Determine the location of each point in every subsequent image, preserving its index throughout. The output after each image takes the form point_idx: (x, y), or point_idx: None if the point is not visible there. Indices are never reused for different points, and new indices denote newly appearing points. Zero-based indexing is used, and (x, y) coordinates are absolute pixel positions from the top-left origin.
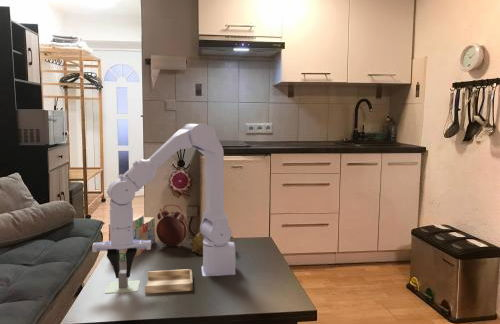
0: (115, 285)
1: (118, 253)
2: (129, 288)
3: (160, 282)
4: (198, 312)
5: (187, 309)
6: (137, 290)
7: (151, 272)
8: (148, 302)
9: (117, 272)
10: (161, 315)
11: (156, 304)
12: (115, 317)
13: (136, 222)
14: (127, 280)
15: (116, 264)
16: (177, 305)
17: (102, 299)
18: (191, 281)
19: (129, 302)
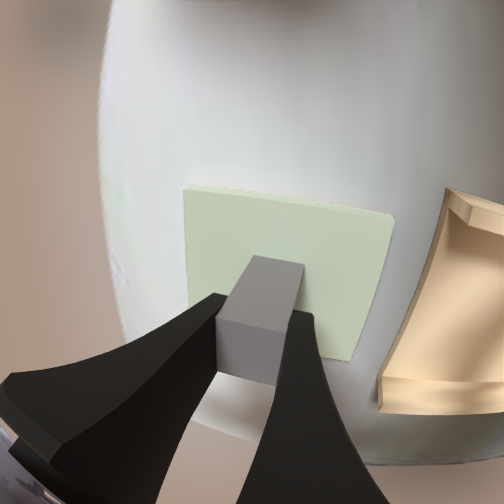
0: (226, 258)
1: (121, 451)
2: None
3: (489, 292)
4: (457, 456)
5: (447, 448)
6: (350, 356)
7: (488, 229)
8: (371, 414)
9: (208, 379)
10: (378, 459)
11: (390, 426)
12: (259, 439)
13: None
14: (297, 295)
15: (177, 439)
16: (440, 436)
17: None
18: None
19: None
